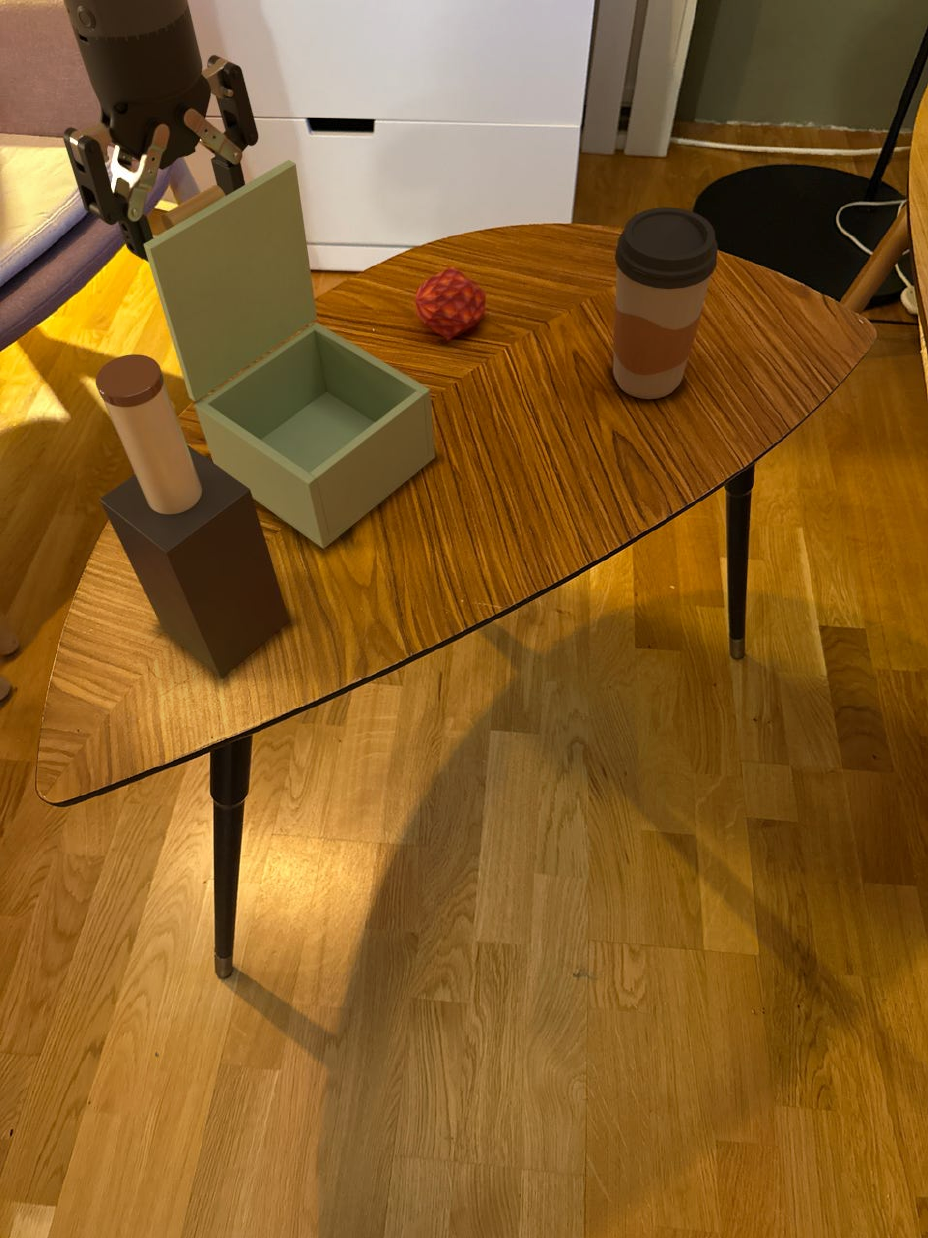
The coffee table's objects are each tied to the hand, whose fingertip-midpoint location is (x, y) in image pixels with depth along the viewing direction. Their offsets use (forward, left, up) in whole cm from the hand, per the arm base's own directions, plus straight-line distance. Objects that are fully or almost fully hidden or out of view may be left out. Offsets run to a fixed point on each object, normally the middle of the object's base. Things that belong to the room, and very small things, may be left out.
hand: (191, 231), depth 76 cm
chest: (0, -11, -18) cm, 21 cm away
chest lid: (0, -5, -3) cm, 6 cm away
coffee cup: (+27, -26, -18) cm, 42 cm away
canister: (-17, -18, -3) cm, 25 cm away
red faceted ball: (+21, -7, -18) cm, 29 cm away
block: (-17, -18, -18) cm, 30 cm away
